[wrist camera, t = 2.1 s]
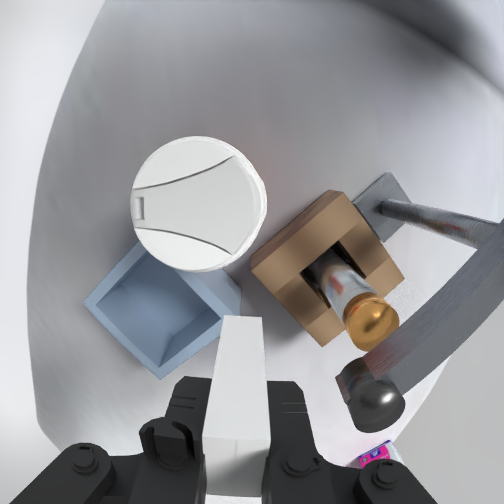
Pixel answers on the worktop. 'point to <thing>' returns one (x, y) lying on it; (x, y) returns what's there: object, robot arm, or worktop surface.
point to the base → (372, 203)
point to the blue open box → (162, 308)
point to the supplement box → (381, 454)
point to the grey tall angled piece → (427, 318)
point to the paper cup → (197, 204)
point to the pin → (354, 301)
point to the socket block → (310, 248)
